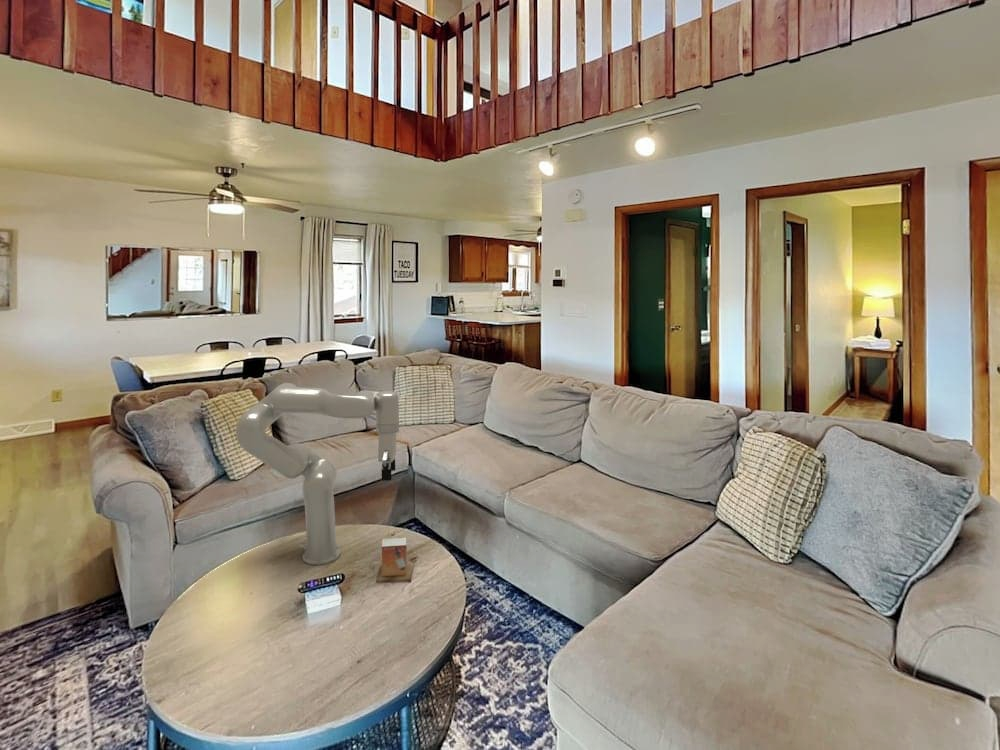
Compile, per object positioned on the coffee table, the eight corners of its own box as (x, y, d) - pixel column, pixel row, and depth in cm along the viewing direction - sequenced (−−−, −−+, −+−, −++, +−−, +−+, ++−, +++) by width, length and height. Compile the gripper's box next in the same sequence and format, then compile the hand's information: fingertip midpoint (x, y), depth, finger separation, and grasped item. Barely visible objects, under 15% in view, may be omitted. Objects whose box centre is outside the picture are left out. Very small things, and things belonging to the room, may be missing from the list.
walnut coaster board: (375, 582, 168) (375, 579, 168) (380, 567, 177) (380, 565, 177) (410, 582, 169) (410, 579, 168) (413, 567, 177) (413, 564, 177)
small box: (381, 577, 169) (380, 546, 167) (382, 568, 175) (381, 538, 173) (407, 575, 171) (406, 544, 169) (407, 566, 176) (406, 536, 174)
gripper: (380, 421, 189) (381, 466, 192) (372, 434, 172) (373, 484, 175) (401, 421, 189) (402, 466, 192) (395, 434, 172) (396, 484, 175)
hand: (388, 475), depth 183 cm, fingers open, 9 cm apart
